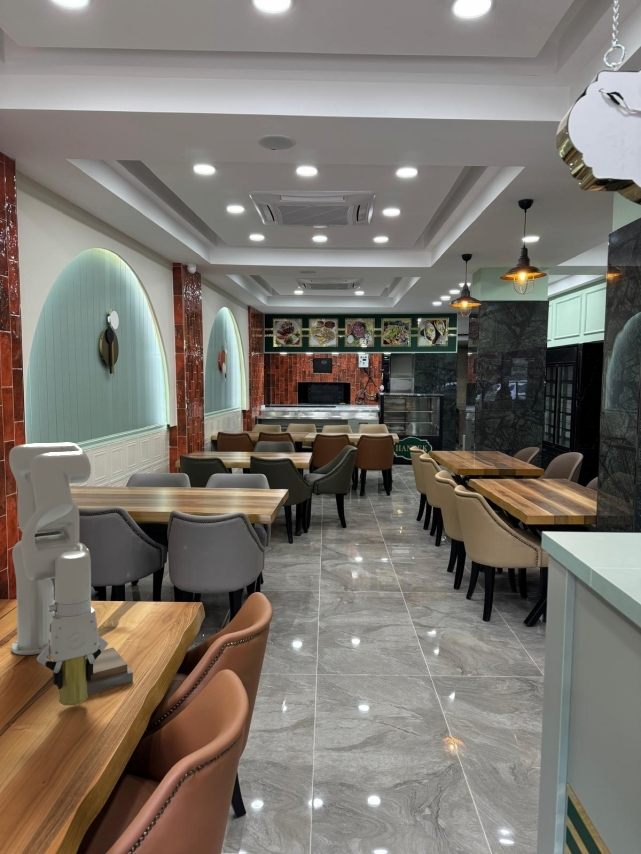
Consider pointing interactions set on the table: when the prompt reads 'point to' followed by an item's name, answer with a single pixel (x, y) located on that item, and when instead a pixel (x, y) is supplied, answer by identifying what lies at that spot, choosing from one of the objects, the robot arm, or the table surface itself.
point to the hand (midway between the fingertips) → (73, 681)
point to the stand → (109, 672)
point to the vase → (73, 681)
